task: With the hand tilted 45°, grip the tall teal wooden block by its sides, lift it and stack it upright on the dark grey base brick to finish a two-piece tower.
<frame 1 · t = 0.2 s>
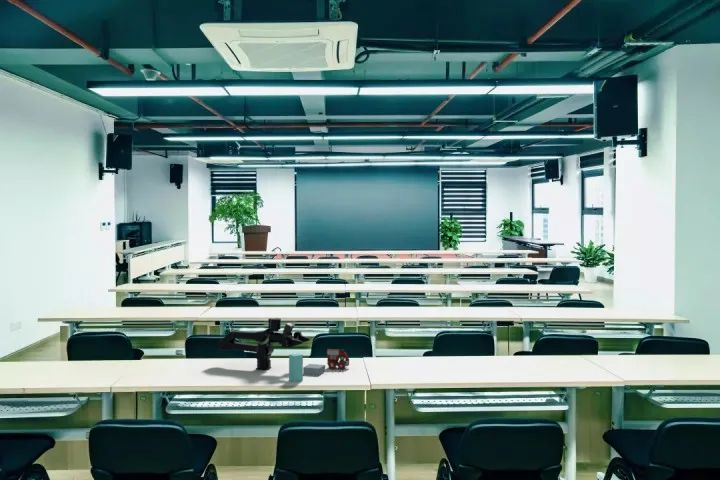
hand: (306, 341, 332), 17 cm above the table, tool horizontal, fingers open, 9 cm apart
teal block: (295, 380, 315), on the table
base brick: (314, 373, 331), on the table
toy fire truck: (337, 368, 343), on the table
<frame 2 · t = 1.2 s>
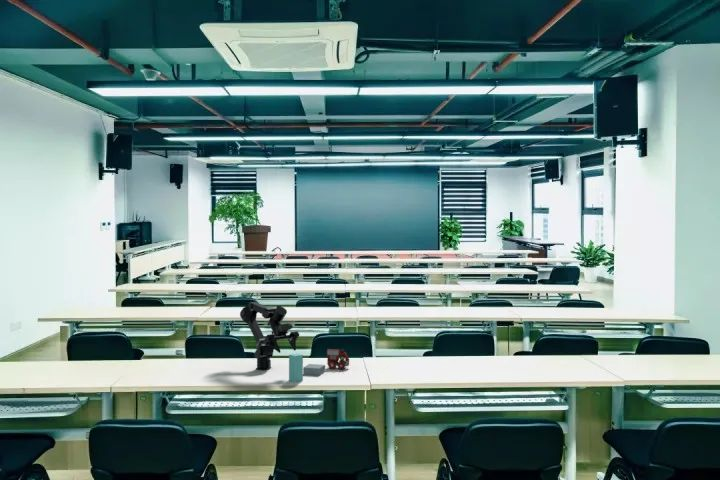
hand: (287, 351, 321), 13 cm above the table, tool tilted 45°, fingers open, 9 cm apart
nothing on the table moved.
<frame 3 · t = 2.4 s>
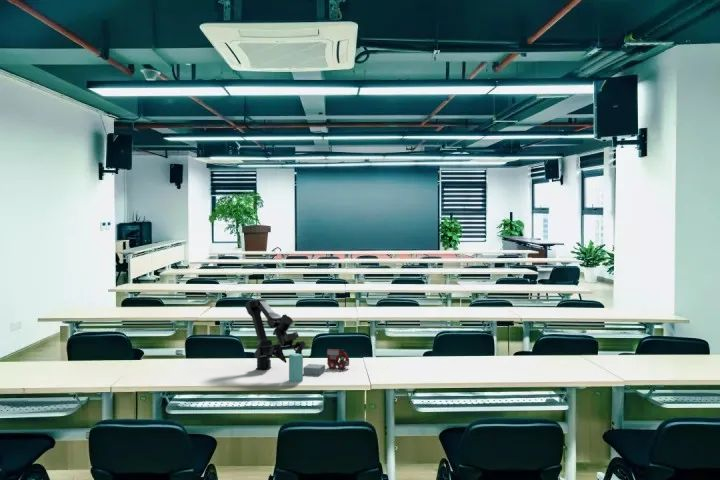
hand: (293, 361, 316), 9 cm above the table, tool tilted 45°, fingers open, 9 cm apart
nothing on the table moved.
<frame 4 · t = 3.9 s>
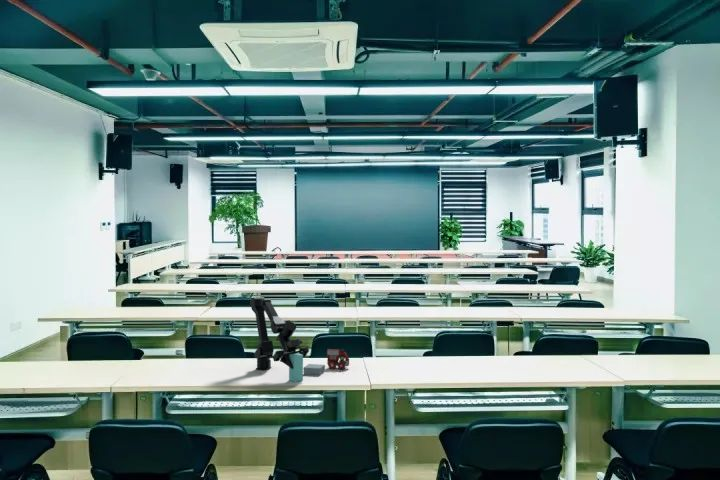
hand: (297, 367, 314), 7 cm above the table, tool tilted 45°, fingers closed on teal block, 5 cm apart
teal block: (295, 380, 315), on the table, touching gripper
everything else where it was.
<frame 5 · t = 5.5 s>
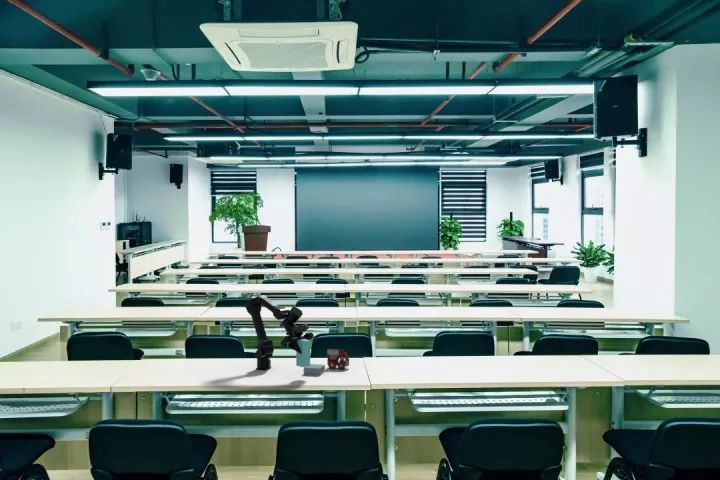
hand: (305, 352, 318), 13 cm above the table, tool tilted 45°, fingers closed on teal block, 5 cm apart
teal block: (303, 365, 319), point 6 cm above the table, touching gripper
everything else where it was.
when the fingers open (12 cm above the table, at t = 7.0 s): teal block moves 1 cm, resting on base brick.
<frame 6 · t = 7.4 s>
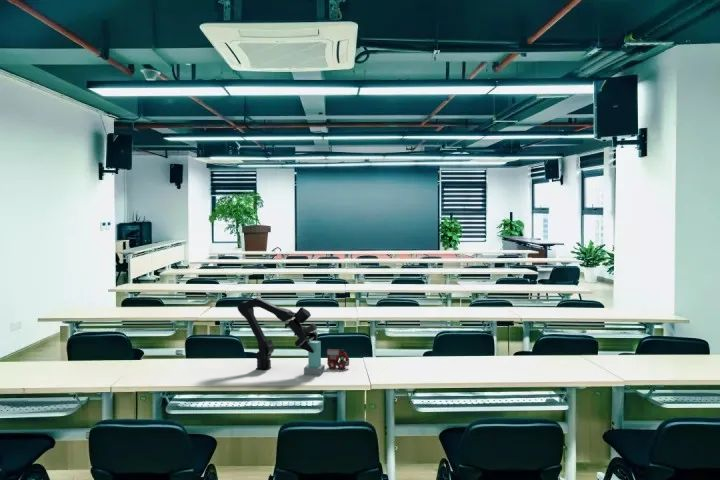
hand: (316, 351, 331), 12 cm above the table, tool tilted 45°, fingers open, 9 cm apart
teal block: (314, 366, 331), point 4 cm above the table, touching base brick
base brick: (314, 373, 331), on the table, touching teal block
everything else where it was.
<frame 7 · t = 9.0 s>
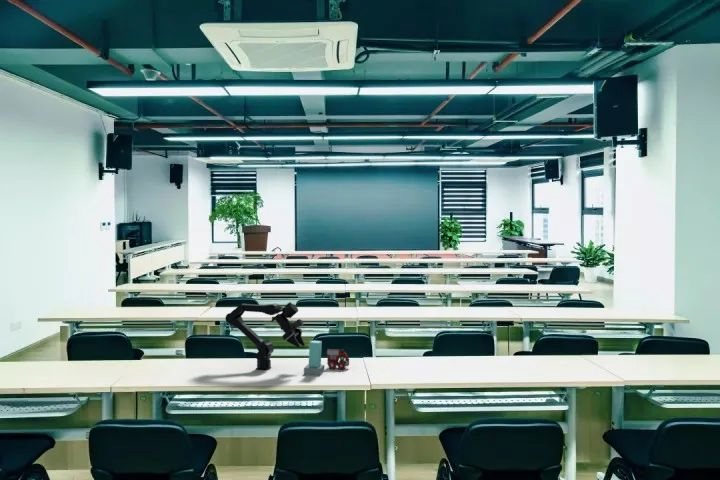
hand: (301, 346, 334), 13 cm above the table, tool tilted 40°, fingers open, 9 cm apart
teal block: (314, 365, 331), point 4 cm above the table
base brick: (314, 373, 331), on the table
everything else where it was.
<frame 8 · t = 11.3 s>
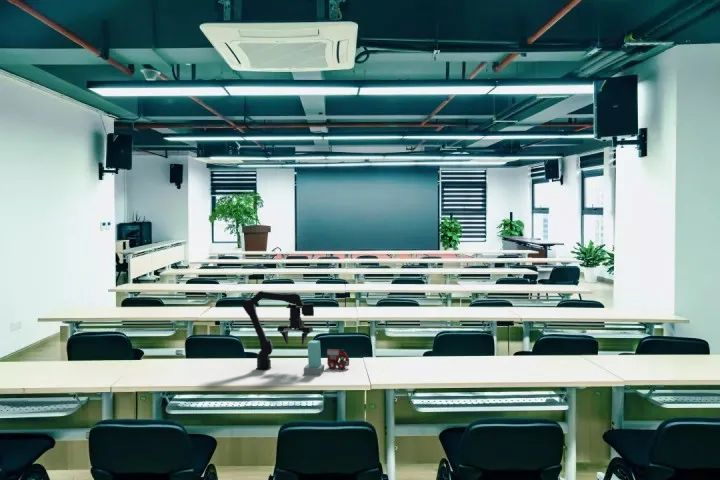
hand: (295, 344, 342), 13 cm above the table, tool pointing down, fingers open, 9 cm apart
teal block: (314, 365, 331), point 4 cm above the table, touching base brick
base brick: (314, 373, 331), on the table, touching teal block
everything else where it was.
at the end: teal block 0.4 cm off-centre on the base brick, point 4.2 cm above the base brick's base; teal block tilted 4°; the gripper is holding nothing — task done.
